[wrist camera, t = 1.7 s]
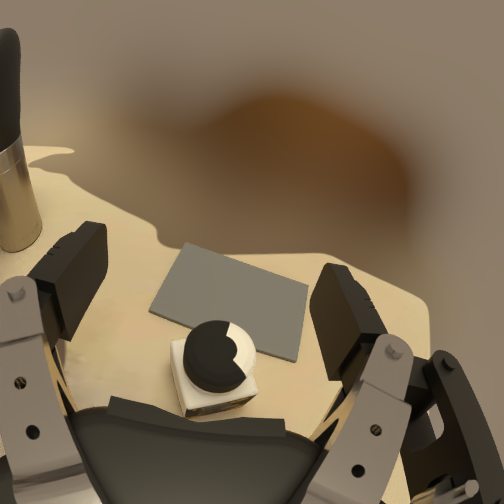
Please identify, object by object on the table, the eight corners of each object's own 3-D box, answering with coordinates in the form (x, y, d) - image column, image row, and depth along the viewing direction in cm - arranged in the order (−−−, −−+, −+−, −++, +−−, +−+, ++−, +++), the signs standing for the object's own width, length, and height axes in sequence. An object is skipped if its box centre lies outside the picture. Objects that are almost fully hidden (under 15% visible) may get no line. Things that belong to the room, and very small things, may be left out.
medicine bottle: (184, 419, 27) (189, 399, 19) (169, 362, 31) (169, 316, 23) (243, 406, 30) (277, 378, 21) (226, 353, 34) (249, 304, 25)
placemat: (149, 311, 35) (148, 309, 35) (185, 244, 44) (185, 241, 44) (295, 362, 35) (296, 361, 35) (307, 287, 44) (308, 285, 44)
